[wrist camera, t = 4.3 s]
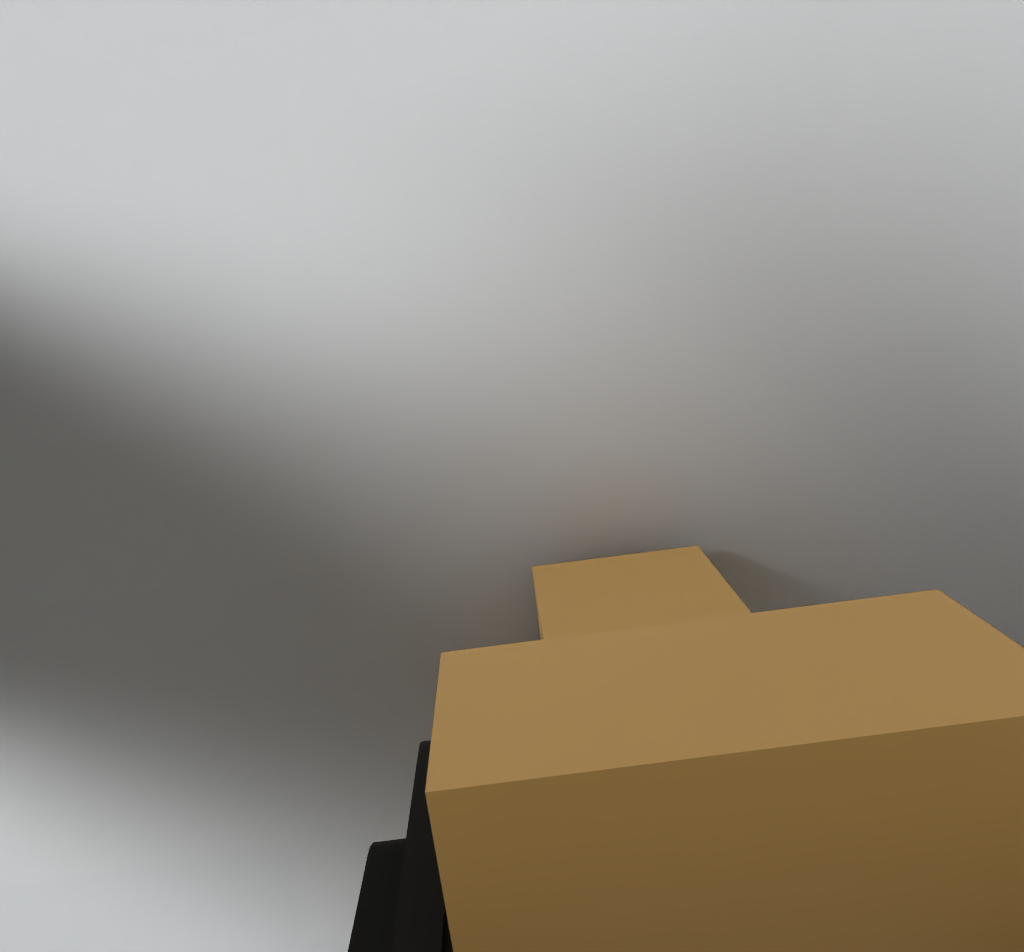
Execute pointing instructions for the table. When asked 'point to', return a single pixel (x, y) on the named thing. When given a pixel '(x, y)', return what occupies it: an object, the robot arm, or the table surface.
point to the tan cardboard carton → (729, 772)
